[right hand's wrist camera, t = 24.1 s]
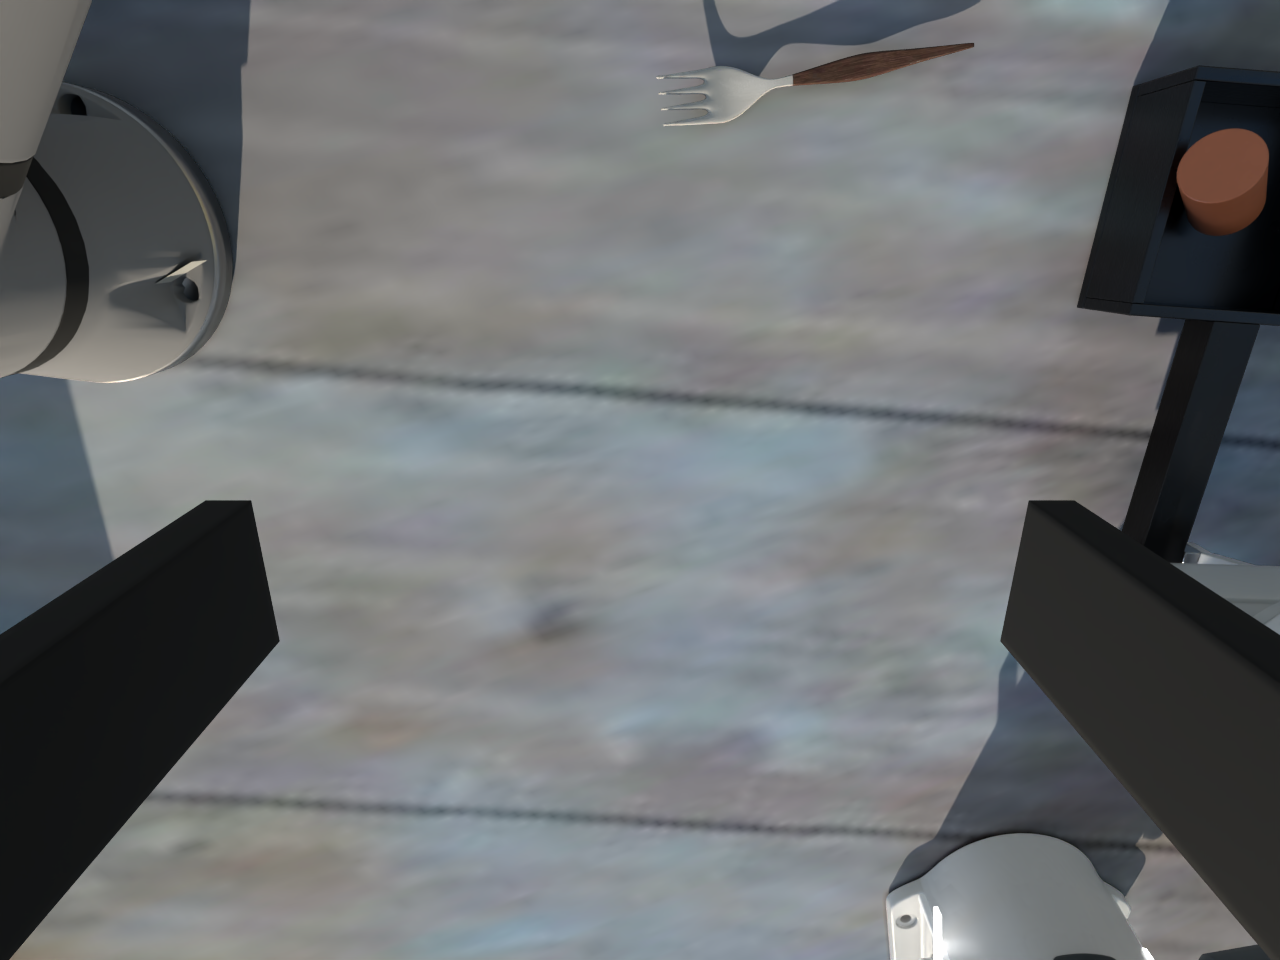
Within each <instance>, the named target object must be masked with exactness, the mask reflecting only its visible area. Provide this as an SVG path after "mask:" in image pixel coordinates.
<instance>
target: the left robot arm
mask: <svg viewBox="0 0 1280 960" xmlns="http://www.w3.org/2000/svg"><path fill="white" fill-rule="evenodd" d="M1171 564H1172V565H1174V566H1175V567H1177V568H1178V569H1180V570H1181V571H1183V572H1184V573H1186V574H1187V575H1189V576H1191V577H1192V578H1194V579H1195V580H1197V581H1198V582H1200V583H1201V584H1203V585H1204V586H1206V587H1207V588H1209V589H1210V590H1212V591H1214V592H1215V593H1217V594H1218V595H1220V596H1221V597H1223V598H1224V599H1226V600H1227V601H1229V602H1230V603H1232V604H1233V605H1235V606H1236V607H1238V608H1240V609H1241V610H1243V611H1244V612H1246V613H1247V614H1249V615H1250V616H1252V617H1253V618H1255V619H1256V620H1258V621H1259V622H1261V623H1262V624H1264V625H1266V626H1267V627H1269V628H1270V629H1272V630H1273V631H1275V632H1276V633H1278V634H1279V635H1280V566H1259V565H1253V564H1250V563H1246V562H1243V561H1239V560H1236V559H1232V558H1229V557H1225V556H1222V555H1218V554H1215V553H1210V552H1209V551H1207V550H1205V549H1204V548H1202V547H1200V546H1198V545H1197V544H1195V543H1191V542H1187V545H1186V548H1185V551H1184V554H1183V557H1182V560H1181V563H1171ZM886 911H887V923H888V936H889V948H890V960H1154V959H1153V957H1152V956H1151V954H1150V953H1149V952H1148V950H1147V949H1146V948H1143V947H1142V945H1141V943H1140V942H1139V940H1138V938H1137V936H1136V935H1135V933H1134V931H1133V930H1132V928H1131V926H1130V924H1129V923H1128V921H1127V918H1128V917H1129V915H1130V912H1131V908H1130V906H1129V904H1128V902H1127V901H1126V899H1125V897H1124V895H1123V894H1122V893H1121V892H1120V891H1119V890H1117V889H1116V888H1114V887H1113V886H1111V885H1109V884H1107V883H1106V882H1104V881H1103V880H1102V879H1101V878H1100V877H1099V875H1098V874H1097V872H1096V870H1095V868H1094V866H1093V864H1092V863H1091V861H1090V860H1089V859H1088V858H1087V856H1086V855H1085V854H1084V853H1082V852H1081V851H1080V850H1079V849H1077V848H1076V847H1074V846H1073V845H1071V844H1069V843H1067V842H1065V841H1063V840H1060V839H1057V838H1054V837H1051V836H1046V835H1041V834H1032V833H1014V834H1004V835H998V836H993V837H989V838H986V839H982V840H979V841H976V842H974V843H971V844H969V845H966V846H964V847H962V848H960V849H958V850H957V851H955V852H953V853H952V854H950V855H949V856H947V857H946V858H944V859H943V860H942V861H940V862H939V863H938V864H937V865H936V866H935V867H934V868H932V869H931V870H930V871H929V872H928V873H927V874H925V875H924V876H923V877H921V878H920V879H917V880H915V881H912V882H910V883H908V884H905V885H903V886H901V887H899V888H897V889H895V890H894V891H892V892H891V893H890V894H889V895H888V896H887V898H886ZM1199 960H1271V959H1270V958H1269V957H1268V956H1267V954H1266V953H1265V952H1264V951H1263V950H1262V949H1261V947H1260V946H1259V945H1252V946H1247V947H1241V948H1235V949H1229V950H1223V951H1218V952H1212V953H1206V954H1202V955H1201V957H1200V958H1199Z"/></svg>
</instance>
